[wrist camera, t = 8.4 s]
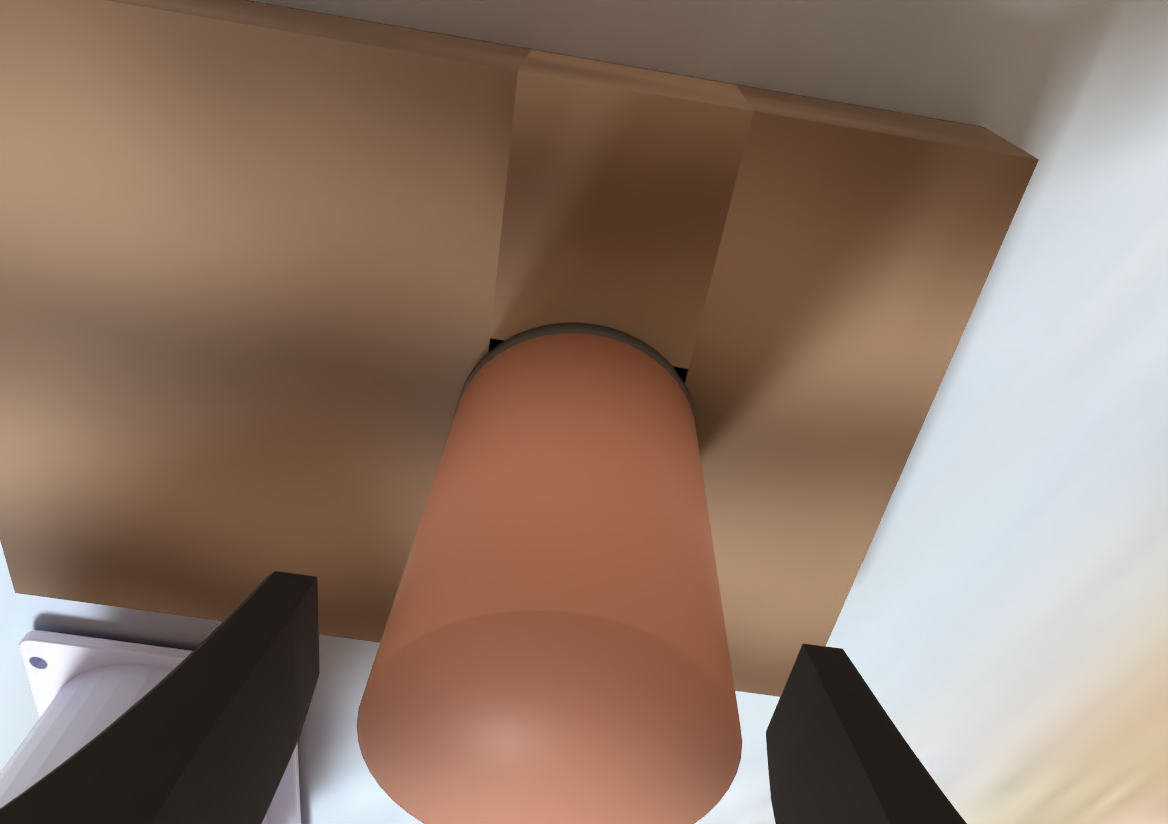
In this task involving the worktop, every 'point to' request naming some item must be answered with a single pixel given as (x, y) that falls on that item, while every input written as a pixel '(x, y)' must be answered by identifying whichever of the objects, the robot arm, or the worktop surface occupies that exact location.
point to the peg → (559, 602)
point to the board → (443, 296)
